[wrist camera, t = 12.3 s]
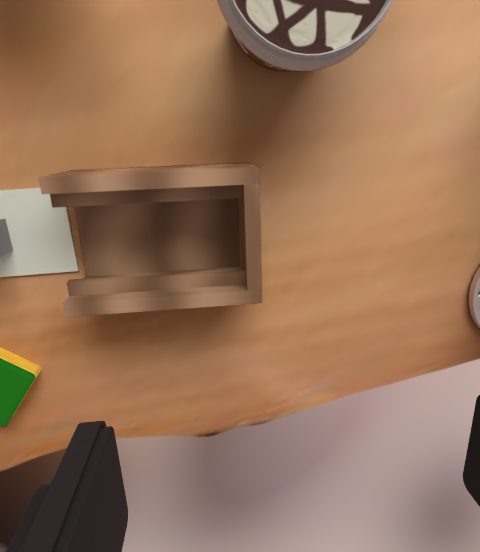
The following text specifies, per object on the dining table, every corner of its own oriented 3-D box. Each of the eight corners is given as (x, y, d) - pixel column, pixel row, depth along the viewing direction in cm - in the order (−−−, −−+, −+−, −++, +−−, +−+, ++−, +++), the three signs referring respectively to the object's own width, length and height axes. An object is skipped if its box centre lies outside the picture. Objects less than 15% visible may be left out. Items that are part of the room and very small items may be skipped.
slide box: (248, 162, 36) (259, 167, 29) (251, 274, 40) (262, 303, 33) (71, 170, 35) (38, 177, 28) (90, 285, 39) (66, 317, 32)
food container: (232, 104, 35) (243, 90, 25) (211, 26, 33) (215, -20, 23) (365, 63, 35) (426, 34, 25) (353, -17, 33) (414, -82, 23)
